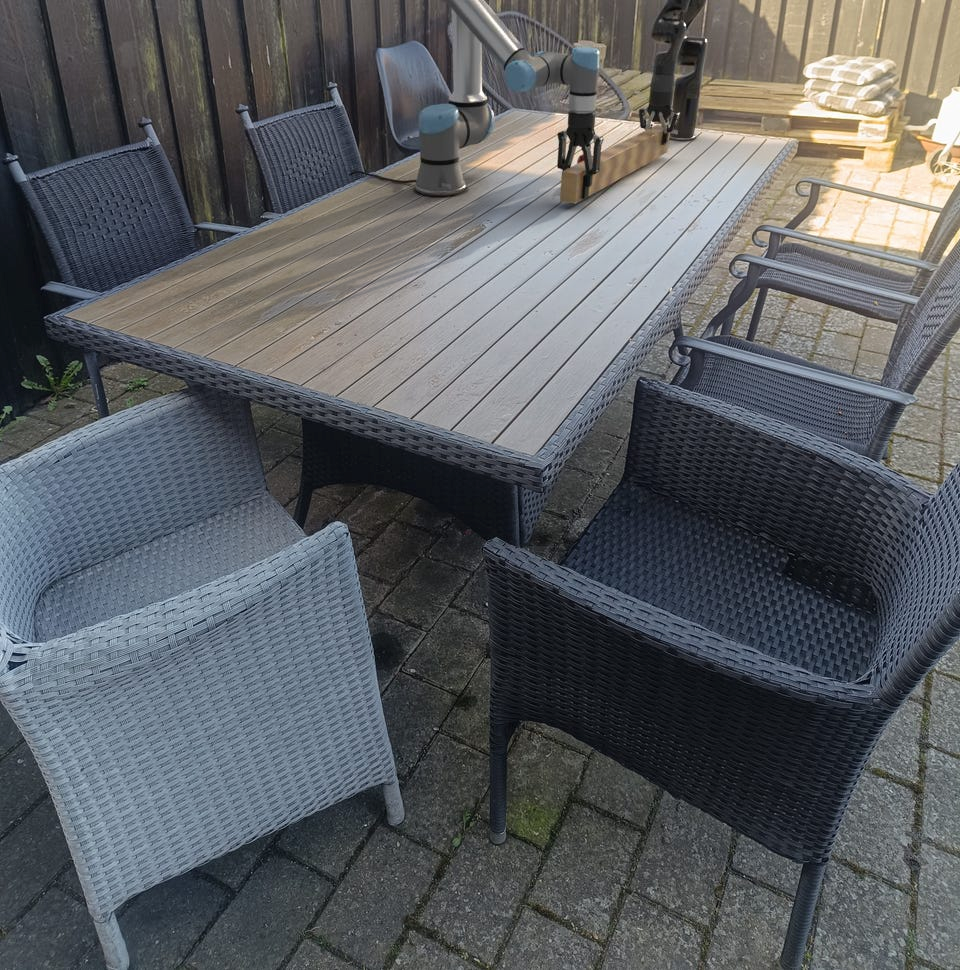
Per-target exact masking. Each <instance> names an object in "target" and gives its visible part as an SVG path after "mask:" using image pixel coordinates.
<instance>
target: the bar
mask: <svg viewBox="0 0 960 970" xmlns="http://www.w3.org/2000/svg"><path fill="white" fill-rule="evenodd" d="M669 128H670V126H669ZM663 133H664V132H663V127H662V125H661V124H656V125H653V126H652V128H650V129H648V130H646V131H645V130H644V131H641V132H639V133H638V134H636V135H633V136H632V137H630V138H627V139H625V140H624V141H621V142H619V143H617V144H615V145H613V146H611V147H608V148H607V149H605V150H603V151H601V159H600V171H599V172H598V173H597V174H595V175H593V180H592V186H590V187H589V197H591V196H592V195H595V194H596V193H598V192H599V191H600V190H603V189H605V188H607V187H608V186H610V185H612V184H614V183H616V182H617V181H619V180H621V179H622V178H624V177H626V176H628V175H630V174H631V173H633V172H635V171H637V170H639V169H640V168H642V167H644V166H646V165H648V164H649V163H652V162H653V161H655V160H656V159H658V158H660V157H662V156H664V155H665V154H667V153H668V150H669V144H670V138H669V136H670V132H669V136H668V142H667V143H666V144H665V145H662V137H663ZM592 163H593V155H592ZM585 174H586V169H585V162H584V161H582V162H580V163H578V164H577V163H576V164H574V165H571V167H570V168H568V169H566V170H564V171H563V170H562V171H561V176H560V177H561V178H560V179H561V180H560V195H559V201H560V202H564V203H569V204H573V205H576V204H577V203H579V202H581V201H583V200H584V199H582V191H583V177H584V175H585Z"/></svg>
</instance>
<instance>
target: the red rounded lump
mask: <svg viewBox="0 0 960 970" xmlns="http://www.w3.org/2000/svg"><path fill="white" fill-rule="evenodd" d="M591 156H593V154H591ZM576 161H577V162H576V164H578V163H580V162H582V161H584V156H583V153H582V154H580V155H579V156H578V158H577V160H576Z"/></svg>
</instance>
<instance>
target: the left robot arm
mask: <svg viewBox="0 0 960 970" xmlns="http://www.w3.org/2000/svg"><path fill="white" fill-rule="evenodd" d="M439 1H440V2H441V3H446V4H447V5H449V7H450V8H451V41H452V42H451V43H452V44H451V45H452V46H451V47H452V82H453V83H452V85H453V91H452V93H451V95H449V96H448V103H438V104H431V105H428V106H426V107H424V108H423V109H422V110H421V111H420V112H419V114H418V115H419V116H418V126H417V127H418V137H419V138H418V139H419V157H420V158H419V159H420V161H419V162H420V164H419V168H418V172H417V176H416V179H408V180H401V179H394V178H388V177H385V176H381V175H378V174H375V173H369V172H365V171H362V170H353V171H351V172H349V174H348V176H349V177H351V176H353V175H355V174H360V175H365V176H368V177H372V178H376V179H380V180H383V181H387V182H393V183H398V184H412V183H415V185H414V186H415V192H417V193H418V194H420V195H424V196H430V197H450V196H455V195H459V194H461V193H463V192H464V191H466V181H465V179H464V176H463V172H462V169H461V165H460V149H463V148H467V147H470V146H474V145H479V144H480V143H482V142H484V141H486V140H487V139H488V138H489V137H490V136H491V135H492V133H493V131H494V128H495V120H496V119H495V114H494V110H493V109H492V107H491V105H490V104H489V103H488V96H486V94H485V93H484V91H483V55H482V54H483V53H482V52H483V47H484V49H485V50H486V51H487V52H488V53H489V55H491V57H492V59H494V60H495V61H496V63H497V64H498V65H499V66H500V68H502V70H503V71H504V73H503V77H504V78H503V79H504V81H505V85H506V87H507V89H509V90H510V91H512V92H515V93H521V92H528V91H531V90H534V89H537V88H541V87H542V88H543V87H545V86H549V85H552V84H558V85H565V86H569V94H568V95H569V97H568V110H569V111H568V112H567V128H566V130H561V131H558V132H557V139H558V147H557V164H556V167H557V169H560V170H562V171H564V170H566V169H568V168H570V167H572V164H573V160H574V157H575V153H576V151H577V148H578V147H580V148H581V151H582V154H583V156H584V162H585V169H586V174H585V175H584V177H583V191H582V199H583V200H585V199H587V198H589V197H590V196H589V187H590V186H592V180H593V175H595V174H597V173H598V172H599V171H600V159H601V152H602V146H603V142H604V140H605V138H604V136H603V135H602V136H601V135H600V136H599V135H597V134H596V131H595V125H596V111H595V110H596V109H597V97H598V85H599V84H598V83H599V72H600V67H601V65H600V50H599V49H598V48H596V47H593V46H576V47H574V48H572V50H571V53H570V54H569V53H562V52H555V51H551V50H547V51H545V50H543V51H542V50H540V51H537V52H536V53H535V54H534V55H533V56H532V55H531V54H530V53H529V51H527V49H526V48H525V47H524V45H522V44H521V42H520V41H519V40H518V39H517V37H516V36H515V35H513V33H512V32H511V30H510V29H509V28H508V27H507V26H506V24H505V23H504V22H503V21H502V20H501V18H500V17H499V16H498V15H497V13H495V10H493V9H492V8H491V7H490V5H489V4H488V3H487V2H486V0H439ZM482 46H483V47H482ZM567 138H568V139H569V143H568V147H567ZM592 140H593V142H592ZM591 142H592V143H593V151H592V150H591V148H592V144H591ZM567 148H568V149H567ZM592 152H593V153H592ZM591 155H592V156H593V163H592V156H591Z"/></svg>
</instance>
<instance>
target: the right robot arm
mask: <svg viewBox="0 0 960 970" xmlns="http://www.w3.org/2000/svg"><path fill="white" fill-rule="evenodd" d="M706 4H707V0H665V3H664V4H663V6H662V8H661V9H660V11H659V13H658V15H656V18H655V20H654V21H653V24H652V26H651V31H650V35H651V39H652V41H653V42H654V43H656V44H663V45H670V46H669V47H668V50H665V51H659V52H657V53H656V54H655V55H654V58H653V69H652V74H651V75H652V76H651V78H650V85H649V96H648V97H649V98H648V106H647V107H642V108H640V109H638V116H639V127H640V129H643V130H644V131H646V130H648V129H650V128H652V127H653V126H654V124H655V123H656V122H657V123H660V125H662V127H663V132H664V133H663V137H662V145H665V144H666V143H667V142H668V136H669V132H670V136H669V140H670V139H671V140H673V141H674V140H675V141H691V140H694V139H695V134H696V133H695V132H696V126H697V118H698V111H699V106H700V105H699V104H700V97H701V91H702V82H703V75H704V68H705V64H706V63H705V62H706V58H707V52H708V45H709V43H708V39H707V38H706V37H705V36H690V35H689V36H688V35H687V34H688V33H687V32H688V31H689V29H690V27H691V26H692V24H693V23H694V21H695V20H696V19H697V17H698V16H699V15H700V14H701V12H702V11H703V9H704V8H705V6H706ZM676 16H677V18H674V17H676ZM677 66H682V67H694V69H693V70H692V71H691V72H690V71H689V73H686V74H683V75H680V76H678V77H676V70H677ZM647 114H648V116H649V118H648V119H647ZM669 127H670V128H669Z"/></svg>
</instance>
